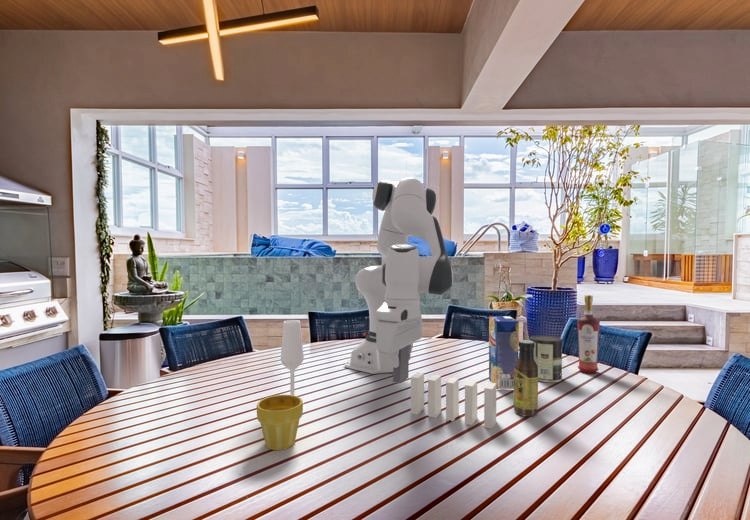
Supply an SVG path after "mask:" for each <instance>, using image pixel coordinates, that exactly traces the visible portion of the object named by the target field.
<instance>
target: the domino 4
mask: <svg viewBox="0 0 750 520" xmlns="http://www.w3.org/2000/svg"><path fill="white" fill-rule="evenodd" d="M459 384H460V378H458V377H453V376H451V377H450V378H449V379H448V380H447V381H445V420H446V421H449V420H451V421H450V422H454V421H455V420H456V419H457V418H456V417H458V416H459V415H460V414H459V413H460V404H459V403H460V401H459V400H460V389H459V388H460V386H459ZM455 418H456V419H455Z"/></svg>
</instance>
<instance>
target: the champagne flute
mask: <svg viewBox="0 0 750 520" xmlns="http://www.w3.org/2000/svg"><path fill="white" fill-rule="evenodd" d="M281 338H282V339H281V347H280V348H281V349H280V362H281V363H282V365H283V366H284V367H285V368H286V369H287V370H289V371H290V372H289V375H290V376H289V381H290V382H289V384H290V386H289V387H290V389H289V390H290V393H289V395H294V396H296V395H295V370H297V368H299V366H300V365H301V364H302V363H303V361H304V359H305V356H304V347H303V346H304V345H303V337H302V327H301V321H300V320H297V319H296V320H295V319H292V320H291V319H289V320H284V321H283V327H282V337H281ZM302 401H303V404H304V403H305V402H304V400H303V399H302Z"/></svg>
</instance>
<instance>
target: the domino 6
mask: <svg viewBox="0 0 750 520" xmlns="http://www.w3.org/2000/svg"><path fill="white" fill-rule="evenodd" d="M483 390H484V393H483V395H484V397H483V398H484V401H483V403H484V404H483V407H484V408H483V413H484V414H483V415H484V416H483V417H484V419H483V422H484V423H483V426H484V428H486V429H492V430H493V429H494V426H495V425H496V424H497V390H496V383H491V382H487V384H486V385H485V387H484V389H483Z"/></svg>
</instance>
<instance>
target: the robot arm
mask: <svg viewBox="0 0 750 520" xmlns="http://www.w3.org/2000/svg"><path fill="white" fill-rule="evenodd" d="M371 196H372V203H373V205H374V207H375V208H376V209H377V210H380V211H381V212H382V211H383V215H382V219H381V222H380V226H379V231H378V237H377V241H376V250H377V251H378V252H379V254H380V256H381V265H370V266H367V267H364V268H362V269H359V271H358V272H357V273H356V275H355V281H354V282H355V287H356V289H357V290H358V292H359V293H360V294H361V295H362V296H363V297H364V299H365V301H366V304H367V308H368V314H369V316H368V317H369V330H367V331H365V332H364V333H363V337H365V339H364V340H363V341H362V342H361V343H359V344H358V345H357V346H356V347H354V348H353V349H352V351H351V354H350V359H349V360H347V361H346V362H344V368H346V369H350V370H354V371H355V370H356V371H359V372H364V373H367V374H371V375H375V374H376V375H377V374H384V373H393V367H395V368H397V367H399V366H400V359H399V358H398V354H399V350H400V349H402V348H404V347H406V346H408V345H409V361H411V357H412V356H411V353H412V351H413V347H414V343H416V342H417V341H419V340H420V339H421V340H422V336H423V318H422V313H421V312H420V310H421V309H420V307H421V306H420V303H421V295H420V294H430V295H431V294H432V295H438V296H439V295H440V296H441V295H444V294H445V293H446V292H448V291H449V290H450V289H451V288H452V287H453V282H454V271H453V268H452V264H451V261H450V259H449V256H448V253H447V249H446V245H445V241H444V237H443V233H442V230H441V226H440V223H439V220H438V219H437V217H435V216H434V215H433V213H434V211H435V209H436V207H437V195H436V192H435V191H434V190H433V189H432V188H429V187H424V185H423V183H422V182H421V181H420V180H418V179H417V178H414V177H405V178H402V179H401V180H400V181H391V180H389V179H385V180H384V179H383V180H380V181H378V182H377V183H376V185H375V187H374V188H373V191H372V195H371ZM410 236H412V237H415V238H418V239H421V240H424V241H425V242H426V243H427V244H428V245H429V249H430V251H429V252H430V256H428V257H426V256H424V257H421V256H420V255H419V254H420V253H419V249H418V248H419V247H417V246H415V245H413V244H408V241H409V237H410Z"/></svg>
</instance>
